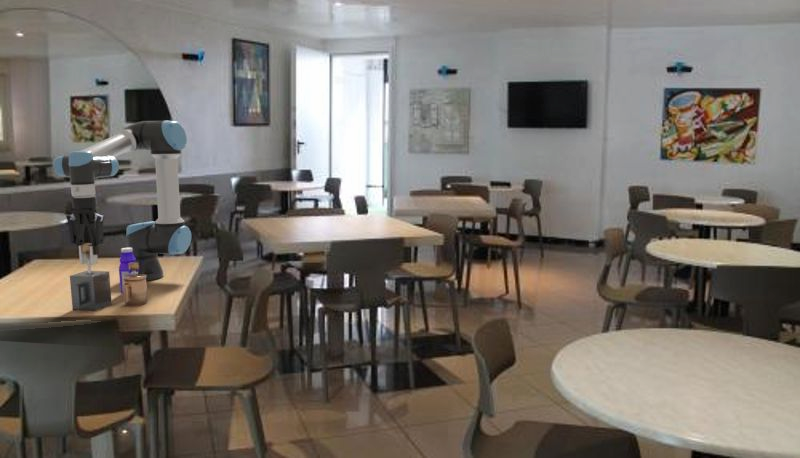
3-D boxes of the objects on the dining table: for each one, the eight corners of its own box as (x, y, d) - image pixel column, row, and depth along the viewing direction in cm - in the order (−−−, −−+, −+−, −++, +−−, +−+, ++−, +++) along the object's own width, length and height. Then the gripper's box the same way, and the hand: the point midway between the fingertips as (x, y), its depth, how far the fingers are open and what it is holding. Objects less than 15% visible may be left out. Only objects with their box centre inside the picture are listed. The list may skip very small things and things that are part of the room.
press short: (132, 299, 257) (130, 260, 255) (152, 300, 255) (149, 261, 253) (115, 307, 246) (112, 266, 244) (135, 308, 245) (132, 266, 243)
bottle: (131, 296, 263) (128, 250, 260) (117, 295, 264) (114, 249, 261) (142, 291, 270) (139, 246, 267) (128, 291, 271) (125, 246, 268)
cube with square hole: (89, 303, 252) (86, 270, 250) (111, 304, 250) (109, 271, 248) (66, 312, 240) (63, 277, 239) (89, 313, 239) (87, 278, 237)
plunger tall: (89, 295, 250) (85, 242, 248) (106, 295, 249) (102, 242, 246) (76, 299, 244) (72, 245, 241) (94, 300, 242) (89, 246, 240)
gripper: (54, 197, 239) (60, 265, 243) (98, 197, 236) (103, 266, 239) (69, 195, 247) (75, 261, 250) (112, 195, 243) (116, 262, 246)
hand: (88, 263), depth 245 cm, fingers closed on plunger tall, 4 cm apart
